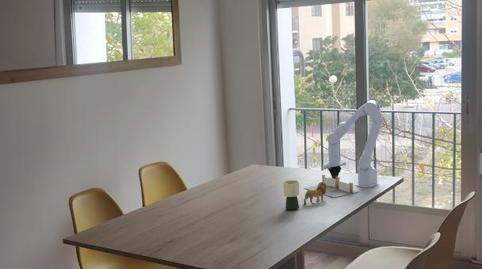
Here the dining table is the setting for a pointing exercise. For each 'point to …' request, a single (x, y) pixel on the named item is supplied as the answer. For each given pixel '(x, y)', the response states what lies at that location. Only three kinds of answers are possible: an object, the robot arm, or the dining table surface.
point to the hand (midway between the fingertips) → (334, 180)
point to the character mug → (291, 194)
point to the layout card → (332, 191)
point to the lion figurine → (316, 193)
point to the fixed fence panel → (344, 185)
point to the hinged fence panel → (329, 181)
